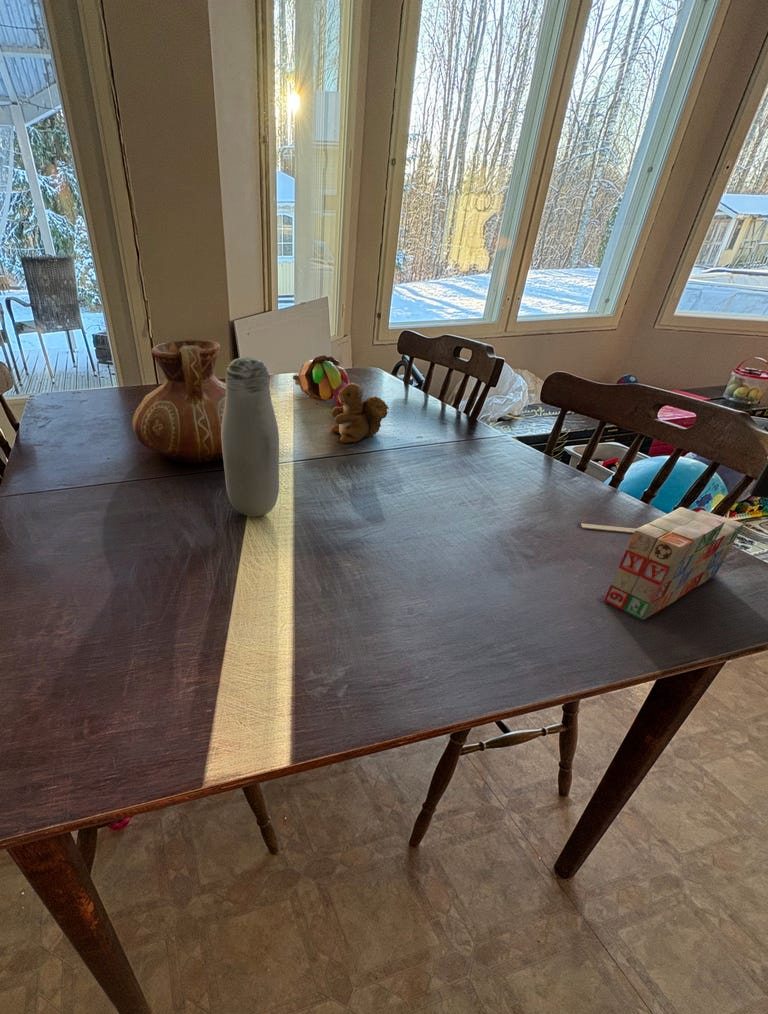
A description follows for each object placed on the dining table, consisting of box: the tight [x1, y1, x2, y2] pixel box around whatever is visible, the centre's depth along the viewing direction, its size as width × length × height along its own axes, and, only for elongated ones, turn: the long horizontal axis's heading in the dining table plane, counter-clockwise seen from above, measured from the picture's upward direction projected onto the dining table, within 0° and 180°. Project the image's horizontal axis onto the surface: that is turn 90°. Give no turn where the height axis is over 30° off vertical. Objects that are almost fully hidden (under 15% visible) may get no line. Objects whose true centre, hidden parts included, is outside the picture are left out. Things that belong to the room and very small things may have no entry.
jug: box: [131, 338, 226, 464], centre depth 127 cm, size 30×30×25 cm
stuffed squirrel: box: [330, 381, 390, 444], centre depth 136 cm, size 10×14×13 cm
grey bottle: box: [221, 356, 280, 518], centre depth 97 cm, size 10×10×28 cm
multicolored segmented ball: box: [292, 354, 350, 407], centre depth 167 cm, size 15×15×25 cm
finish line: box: [580, 522, 637, 534], centre depth 98 cm, size 18×2×1 cm, turn 75°
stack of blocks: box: [603, 506, 745, 621], centre depth 79 cm, size 21×6×12 cm, turn 123°
